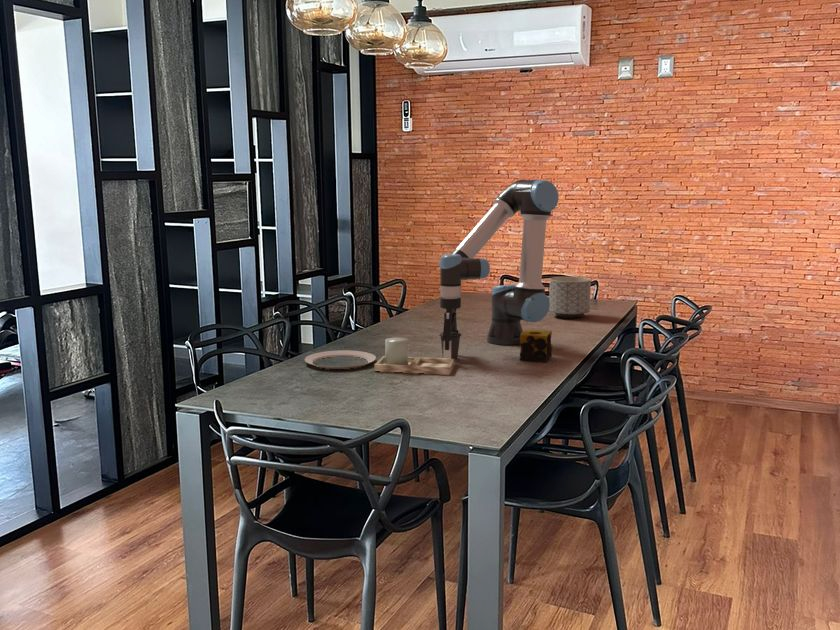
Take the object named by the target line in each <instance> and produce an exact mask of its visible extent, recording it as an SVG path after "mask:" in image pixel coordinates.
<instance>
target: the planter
mask: <svg viewBox="0 0 840 630" xmlns="http://www.w3.org/2000/svg"><path fill="white" fill-rule="evenodd" d="M591 283H592V280H591V278H588V277H584V276H554V277H553V276H552V277H550V278H549V294H548V295H549V297H548V299H549V301H550V308H549V311H548V312H552V313H553V314H555V315H556V316H558V317H560V318H562V317H565V318H564V319H577V318H576V317H578V318H579V317H581V316H583V315H585V314H588V313H590V310H591V288H592V287H591V285H592V284H591Z"/></svg>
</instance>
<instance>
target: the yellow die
mask: <svg viewBox="0 0 840 630" xmlns="http://www.w3.org/2000/svg"><path fill="white" fill-rule="evenodd" d="M552 332H553V331H552V330H543V329H540V330H539V329H525V330H523V333H521V334H520V344H519V345H520V349H519V351H520V352H519V357H520V358H519V361H522V362H532V363H534V362H535V363H548V362H549V360H551V358H552V356H553V354H552V352H553V350H552V349H553V347H552V340H551V339H552V334H553V333H552Z"/></svg>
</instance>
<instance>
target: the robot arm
mask: <svg viewBox="0 0 840 630" xmlns="http://www.w3.org/2000/svg"><path fill="white" fill-rule="evenodd" d="M559 197H560V195H559V191H558V189H557V187H556V186H555V184H553V182H552V181H549V180H547V179H546V180H545V179H541V178H540V179H519V180H516V181H514V182H512V183H511V184H510V185H508V186H506V188H504V189H503V190H502V191H501V192H500V193H499V194H498V195H497V196H496V198H495V199H494V200H493V205H492V206H491V208H490V209H489V210H488V211H487V212H486V213H485V214H484V215H483V217H482V218H481V219H480V220H479V221H478V223H477V224H476V225H475V226H474V227H473V228H472V230H471V231H470V232H469V233H468V234H467V235H466V236H465V237H464V239H462V241H461V242H460V243H459V244H458V246H457V247H456V248H454V250H453V251H452V252H451V253H447V254H446V253H445V254H442V255H441V257H440V260H439V264H438V266H439V270H440V271H439V272H440V273H439V274H440V277H439V278H440V285H439V286H440V287H438V291H440V299H439V307H440V308H441V309H444V310H446V311H445V312H444V313H443V315H444V317H443V318H444V320H443V321H444V322H443V330H442V331H443V332H442V333H443V338H442V339H441V338H440V341H441V340H442V341H444V348H443V354H442V358H446V359H451V332H452V331H454V332H457V333H459V330H458V328H457V327H458V325H457V310H458V309H460V308H461V307H462V298H461V296H462V281H465V280H480V279H486V278H487V277H488V276H489V275H490V271H491V270H490V269H491V265H490V263H489V260H487V259H486V258H481V257H477V258H475V257H476V255H477V254H478V253H479V252H480V251H481V249H483V248H484V247H485V245H486V244H487V243H488V242H489V241H490V239H491V238H492V237H494V235H495V233H496V232H497V231H498V230H499V229H500V228H501V226H503V224H504V223H505V222H506V221H507V220H508V219H509V218H512V217H514V216H515V214H516V213H518V212H519V211H520V213H519V215H520V216H521V218H522V219H523V227H522V237H521V238H522V240H521V252H520V268H519V277H518V278H519V279H518V282H517V283H516V284H506V285H505V284H503V285H496V286H493V287H492V290H491V323H490V326H489V327H488V328H489V329H488V332H487V335H486V342H488V343H490V344H492V345H493V344H494V345H499V346H500V345H501V346H502V345H503V346H504V345H505V346H511V345H512V346H513V345H520V334H521V333H523V332H524V330H523V327H522V324H521V323H522V322H521V321H524V322H526V323H537V322H541V321H542V320H543V319H544V318H545V317H546V316H547V315H548V313H549V312H550V311H549V308H550V301H549V297H548V295H546V294H545V293H546V287H545V285H543V283H542V279H543V268H544V267H543V266H544V256H545V243H546V242H545V241H546V233H547V232H546V230H547V228H546V227H547V221H548V220H549V219H550V218H551V216H552V211H553V210H555V209H556V207H557V205H558V203H559Z"/></svg>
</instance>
